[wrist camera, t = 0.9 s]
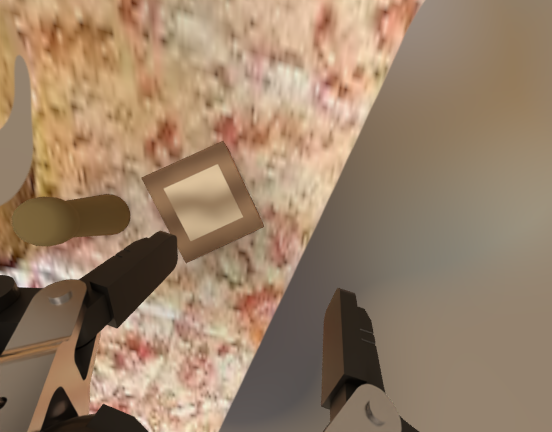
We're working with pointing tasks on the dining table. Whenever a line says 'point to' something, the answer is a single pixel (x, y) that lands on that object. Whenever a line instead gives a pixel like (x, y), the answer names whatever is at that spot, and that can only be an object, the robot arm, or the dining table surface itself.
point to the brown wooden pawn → (69, 218)
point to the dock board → (203, 201)
